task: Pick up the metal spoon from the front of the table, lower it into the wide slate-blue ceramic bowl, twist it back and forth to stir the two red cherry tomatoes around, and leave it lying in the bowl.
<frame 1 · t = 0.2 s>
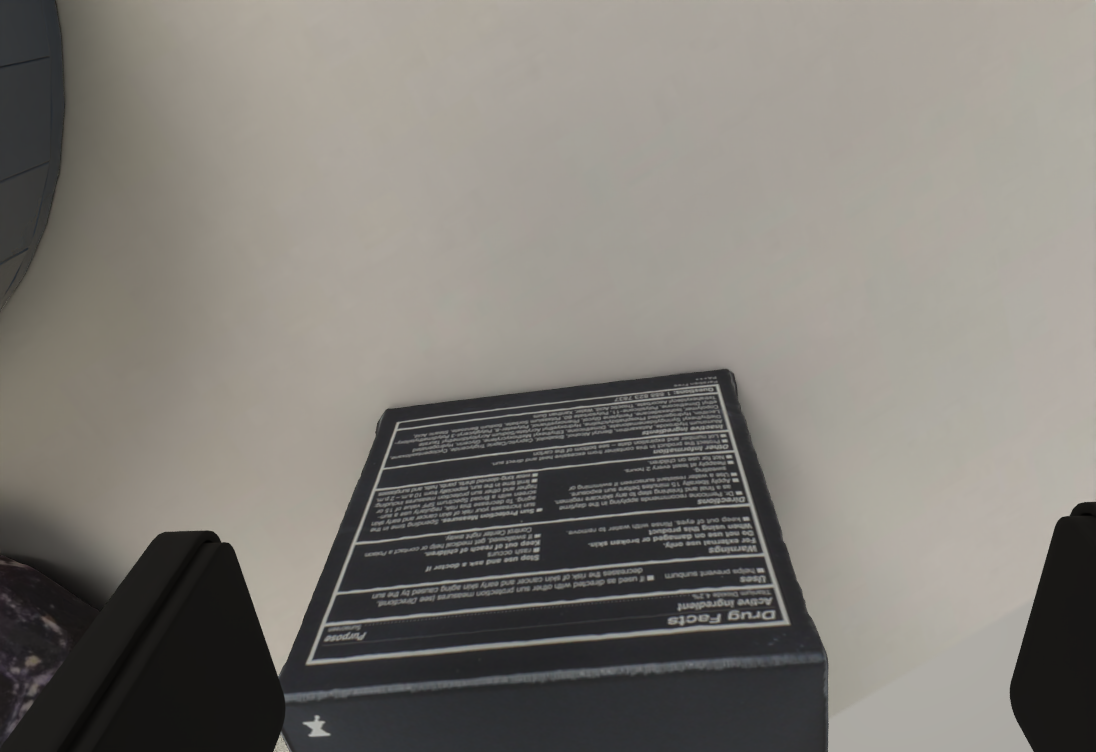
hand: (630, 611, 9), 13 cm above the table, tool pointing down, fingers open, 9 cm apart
small box: (568, 470, 25), on the table
mineral specimen: (30, 607, 29), on the table
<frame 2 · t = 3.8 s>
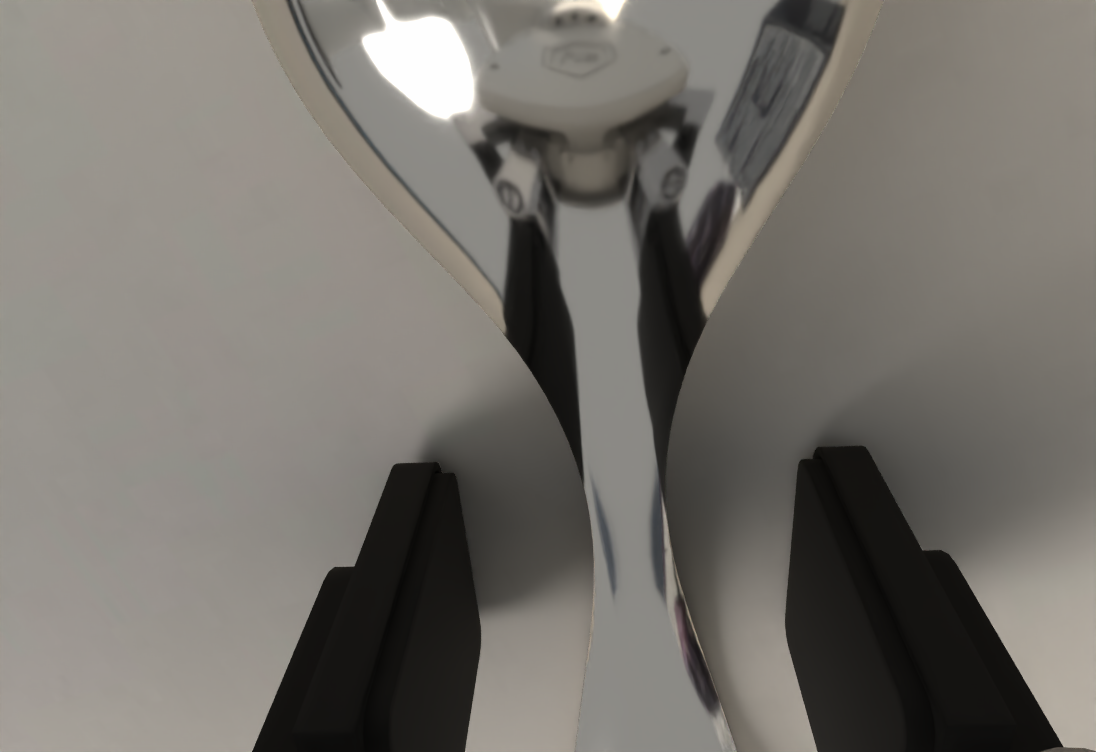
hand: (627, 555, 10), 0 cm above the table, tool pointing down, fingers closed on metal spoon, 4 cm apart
metal spoon: (632, 528, 11), on the table, touching gripper
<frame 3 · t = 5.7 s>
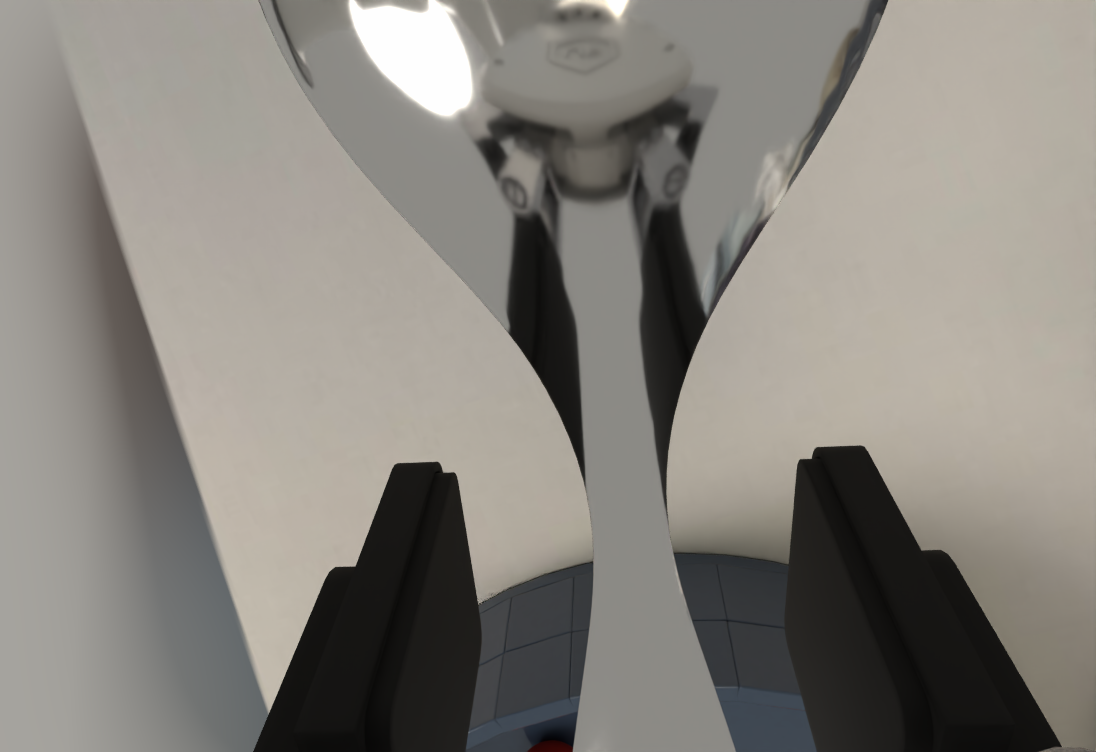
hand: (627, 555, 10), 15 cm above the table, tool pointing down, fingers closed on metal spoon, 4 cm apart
metal spoon: (632, 526, 11), point 14 cm above the table, touching gripper
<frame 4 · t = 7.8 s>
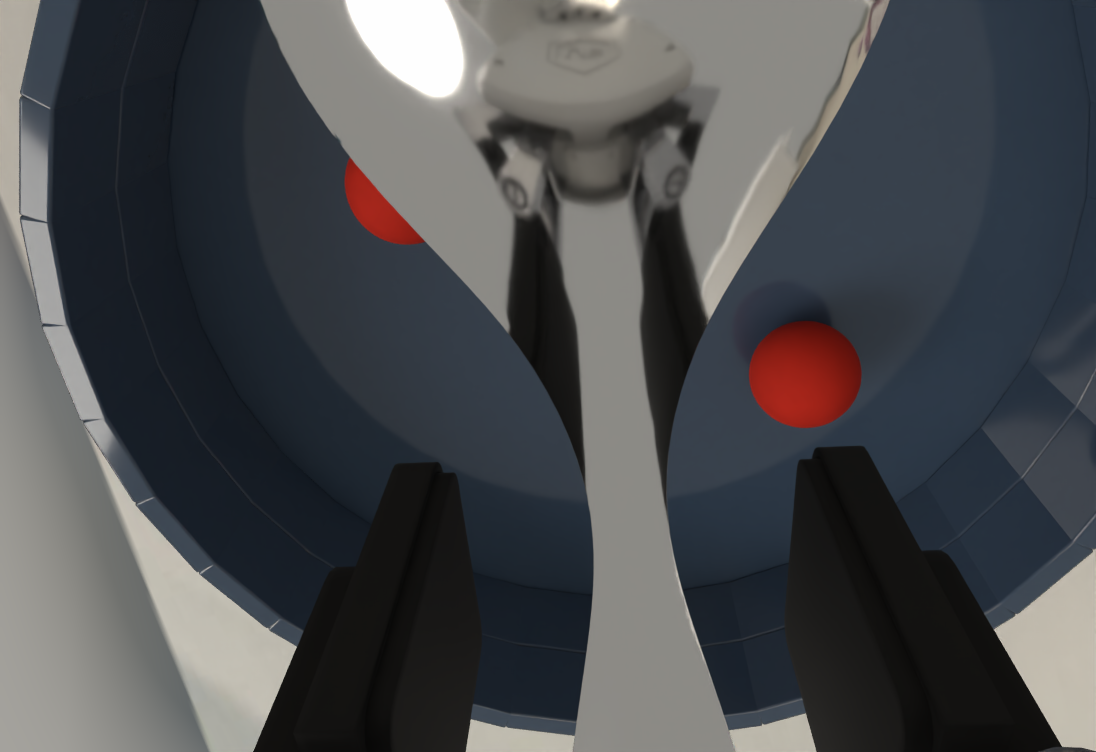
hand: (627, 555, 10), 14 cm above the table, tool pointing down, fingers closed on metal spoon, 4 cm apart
tomato a: (405, 184, 20), point 2 cm above the table, touching bowl
tomato b: (804, 374, 22), point 2 cm above the table, touching bowl
metal spoon: (632, 527, 11), point 14 cm above the table, touching gripper
bowl: (612, 257, 23), on the table
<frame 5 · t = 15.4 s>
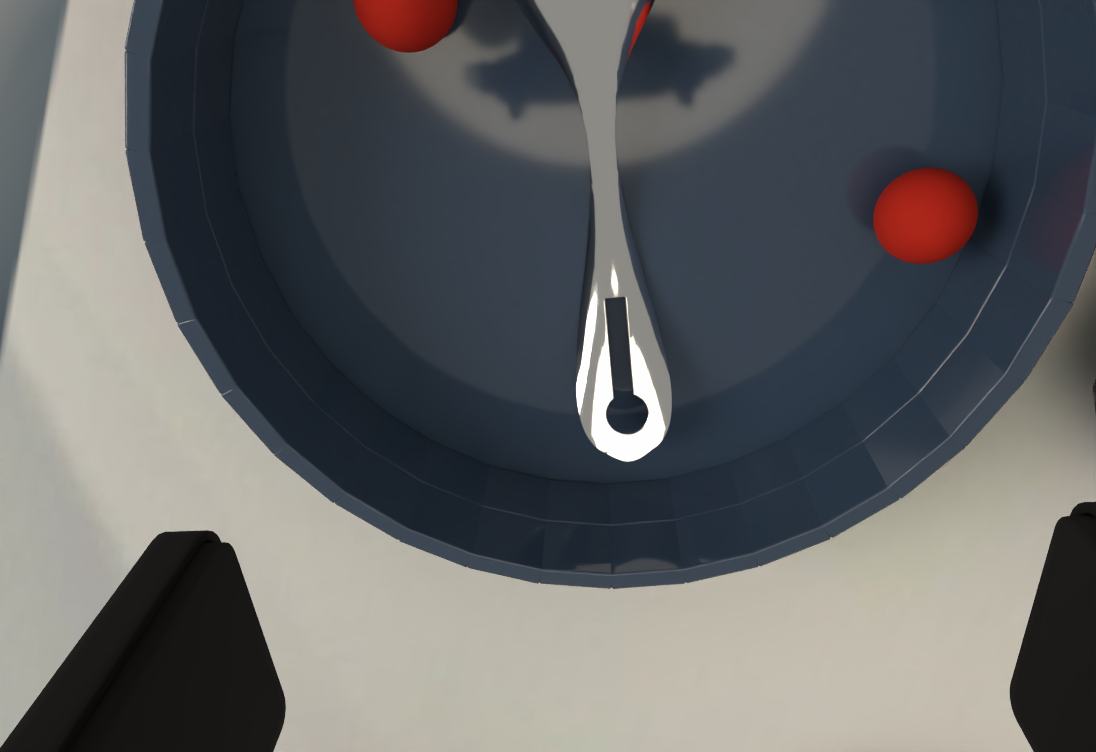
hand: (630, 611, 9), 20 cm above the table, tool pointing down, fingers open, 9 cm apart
tomato b: (924, 216, 25), point 2 cm above the table, tilted 96°, touching bowl
metal spoon: (605, 182, 27), resting on bowl
bowl: (604, 172, 27), on the table
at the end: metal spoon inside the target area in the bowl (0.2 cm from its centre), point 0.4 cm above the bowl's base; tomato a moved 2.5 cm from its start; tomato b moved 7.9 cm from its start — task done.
